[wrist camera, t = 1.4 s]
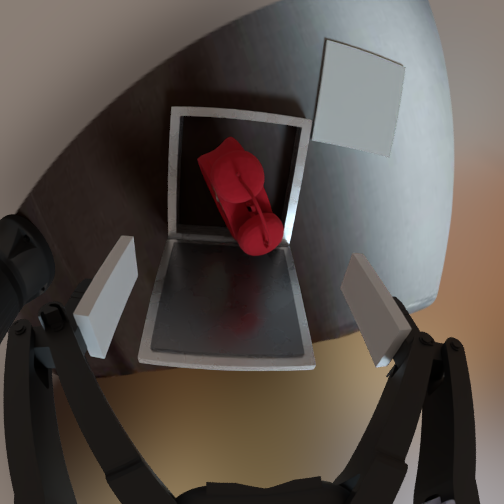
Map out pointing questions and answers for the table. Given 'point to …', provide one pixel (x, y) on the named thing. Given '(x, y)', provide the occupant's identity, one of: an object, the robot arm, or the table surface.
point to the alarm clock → (242, 197)
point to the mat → (358, 100)
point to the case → (174, 171)
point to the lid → (226, 310)
